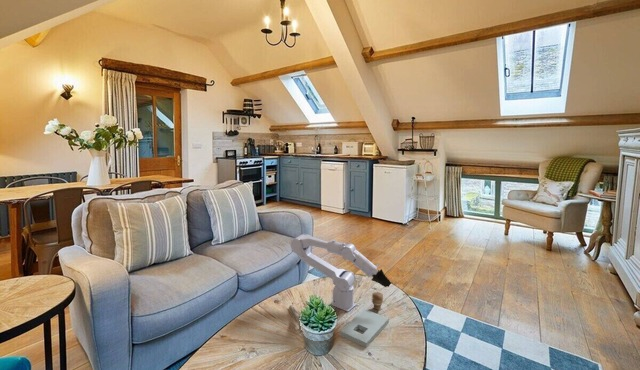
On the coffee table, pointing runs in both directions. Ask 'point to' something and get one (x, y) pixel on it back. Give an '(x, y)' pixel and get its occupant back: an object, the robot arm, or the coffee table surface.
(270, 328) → the coffee table surface
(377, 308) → the peg
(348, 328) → the board
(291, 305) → the caliper
